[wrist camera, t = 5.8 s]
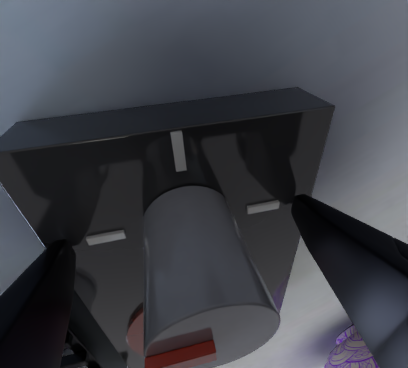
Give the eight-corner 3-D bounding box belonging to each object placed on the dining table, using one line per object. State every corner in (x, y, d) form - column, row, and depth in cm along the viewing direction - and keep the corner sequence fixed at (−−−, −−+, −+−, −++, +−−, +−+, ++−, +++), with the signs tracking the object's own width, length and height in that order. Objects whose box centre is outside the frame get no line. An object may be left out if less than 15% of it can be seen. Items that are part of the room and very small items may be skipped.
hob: (261, 303, 21) (275, 336, 19) (132, 335, 19) (131, 375, 17) (298, 86, 10) (339, 107, 8) (15, 121, 9) (-25, 158, 7)
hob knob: (230, 177, 9) (298, 301, 5) (231, 241, 11) (278, 362, 7) (132, 195, 8) (125, 346, 5) (152, 258, 11) (158, 396, 7)
